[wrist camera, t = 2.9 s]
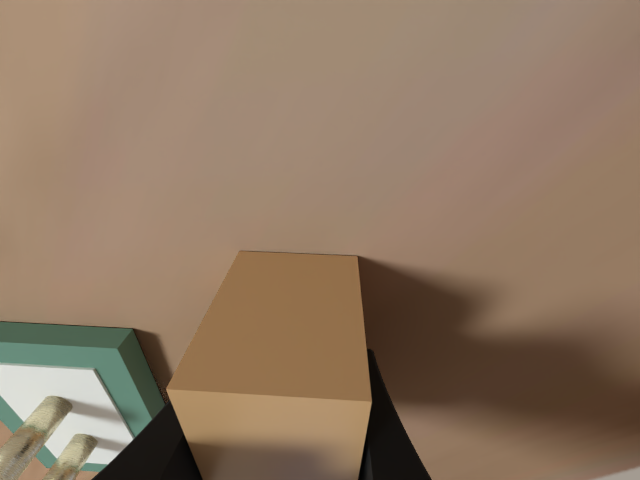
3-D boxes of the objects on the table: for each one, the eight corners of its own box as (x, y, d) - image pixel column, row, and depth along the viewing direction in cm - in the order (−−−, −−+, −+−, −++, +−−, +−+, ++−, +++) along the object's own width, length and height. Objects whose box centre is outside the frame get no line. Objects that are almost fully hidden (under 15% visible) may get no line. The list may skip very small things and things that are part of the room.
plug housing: (344, 387, 14) (347, 535, 9) (258, 381, 14) (221, 526, 9) (357, 256, 10) (372, 401, 6) (239, 251, 10) (165, 389, 6)
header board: (188, 457, 18) (152, 550, 15) (60, 448, 18) (-5, 538, 15) (132, 328, 12) (53, 431, 9) (-51, 319, 13) (-196, 413, 9)
